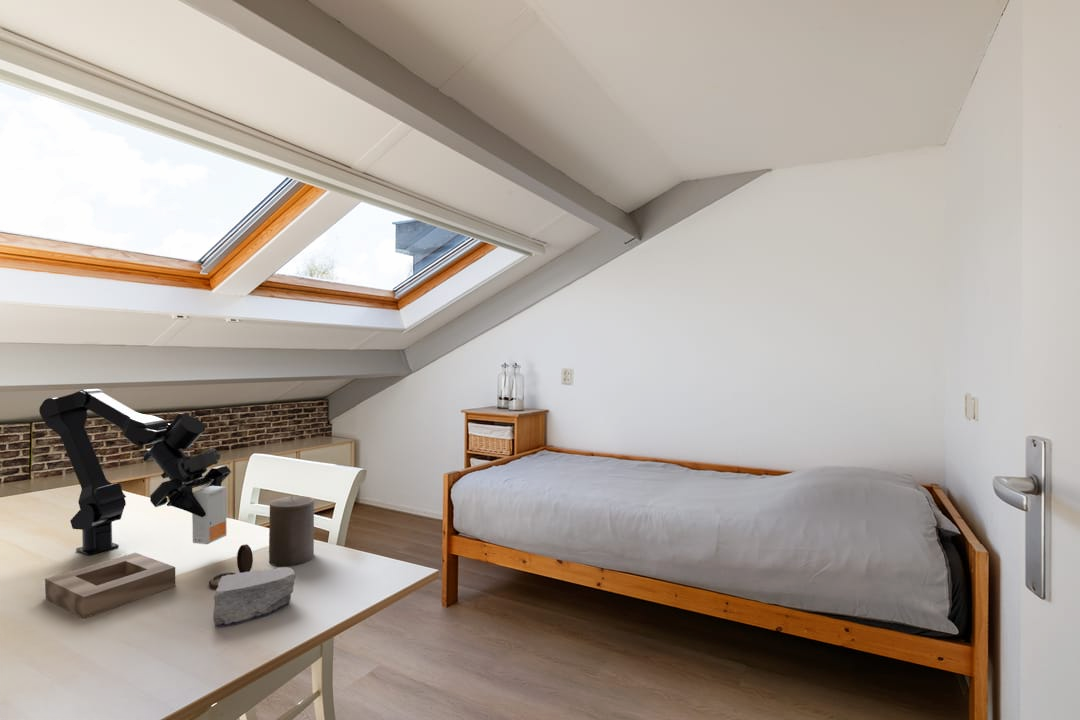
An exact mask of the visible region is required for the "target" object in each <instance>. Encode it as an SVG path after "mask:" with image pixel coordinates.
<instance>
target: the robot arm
mask: <svg viewBox="0 0 1080 720" xmlns="http://www.w3.org/2000/svg"><path fill="white" fill-rule="evenodd" d="M38 410H39V415H40V417H41V418H42V420H43V422H44V423H45V425H46V427H48V428H49V429H50V430H52V431H53V432H55V433H56V434H58V435H59V437H60V439H61V441H62V445H63V447H64V449H65V451H66V454H67V456H68V459H69V461H70V465H72V469H73V471H74V474H75V476H76V479H77V480H78V482H79V483H78V484H79V485H80V489H81V492H80V494H79V499H78V505H79V510H78V511H77V513H76V514H74V516H73V517H72V518H71V519H70V526H71V528H72V529H73V530H81V531H82V533H81V534H82V536H81V537H82V539H81V540H82V546H79V547H77V548H75V550H76V552H79V553H82V554H84V555H87V556H90V555H94V554H95V555H96V554H99V553H101V552H104V551H108V550H112V549H113V550H114V549H116V548H119V547H120V545H119V544H118V543H115V542H113V524H112V522H115V521H119V520H121V519H122V516H123V512H124V510H125V506H126V505H127V504H126V503H127V502H126V498H127V496H126V495H125V493H124V491H123V489H122V486H121V484H120V483H119V482H116V483H112V482H110V481H109V480H108V479H107V478H106V476H105V473H104V471H103V468H102V465H101V463H100V461H99V459H98V456H97V454H96V451H95V448H94V447H93V444H92V442H91V440H90V437H89V435H88V432H87V430H86V427H85V426H86V425H87V424H86V423H87V420H88V416H89V414H88V411H90V412H92V413H94V414H95V415H98V417H100V418H103V419H104V420H106V421H107V422H109V423H111V424H113V425H115V426H116V427H118V428H119V429H120V430H122V435H123V436H124V437H125V438H126V439H127V440H128V441H129V442H130V443H131V444H133V445H134V446H136V447H142V446H148V445H152V447H150V448H146V449H144V454H143V459H142V461H143V462H148V461H152V460H153V461H154V462H155V463H156V464H157V466H158V467H159V469H161V471H162V474H161V475H160V476H161V477H162V479H163V480H164V479H169V480H167V481H163V482H161V484H159V486H157V488H156V489H155V490H153V492H152V493H151V494H150V496H149V498H150V499H149V500H150V501H149V502H151V504H152V505H153V506H154V507H155V508H157V507H161V506H163V505H166V506H167V507H174V508H177V509H180V510H183V511H185V512H188V513H190V514H192V513H193V514H195V515H198V516H200V517H204V516H205V515H206V513H205V511H204V509H203V508H202V506H201V505H200V504H199V502H198V501H197V500H196V498H195V497H194V495H193V492H194V491H193V489H195V488H198V487H201V489H203V488H207V487H209V486H222V483H223V482H224V481H225V480H226V478H227V477H229V476H230V474H231V473H232V471H231V469H230V468H229V467H228V466H227V465H219V466H214V467H212V468H210V470H208V469H207V468H209V467H211V466H213V465H217V464H218V463H219V460H221V453H220V452H219V451H218V450H217V449H216V448H215V447H212V448H207V450H204V452H203V453H199V454H198V455H187V454H186V453H185V451H184V450H187V449H189V448H190V447H191V446H192V445H193V444H194V443H195V442H196V441H197V440H198V438H200V436H201V435H203V433H204V432H205V430H206V426H205V424H204V423H203V421H202V420H199V419H198V418H196V417H194V416H190V415H188V414H187V412H182V413H181V412H180V413H178V414H177V415H176V416H175V418H174V419H173V421H172V422H171V423H168V421H166V420H165V419H163V418H160V417H158V416H155V415H151V414H144V413H140V412H137V411H136V410H134V409H132V408H130V407H129V406H127V405H125V404H123V403H122V402H120V401H118V400H116V399H115V398H113V397H111V396H109V395H108V394H106V393H105V392H104V391H103V390H102V389H99V388H90V389H81V390H78V391H76V392H74V393H71V394H67V395H63V396H58V397H49V398H46V399H45V400H44V401H43V402H42V403H41V405H40V406H39V409H38ZM206 472H207V473H206ZM203 474H205V475H204V476H203ZM168 500H169V501H168Z"/></svg>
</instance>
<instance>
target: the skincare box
mask: <svg viewBox="0 0 1080 720" xmlns="http://www.w3.org/2000/svg"><path fill="white" fill-rule="evenodd" d="M193 495H194V497H195V498H196V500H197V501H198V502H199V504H200V505H201V506H202V508H203V509H204V511H205V513H206V515H205V516H204V517H200V516H198V515H195V514H193V513H191V514H192V515H191V516H192V518H191V520H192V543H193V544H198V545H199V544H200V545H210V544H211V543H214V542H215V541H218V540H219V539H222V538H224V537H227V533H228V531H227V487H226V486H222V485H221V486H209V487H207V488H201V489H199V490H196V491H193Z"/></svg>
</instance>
